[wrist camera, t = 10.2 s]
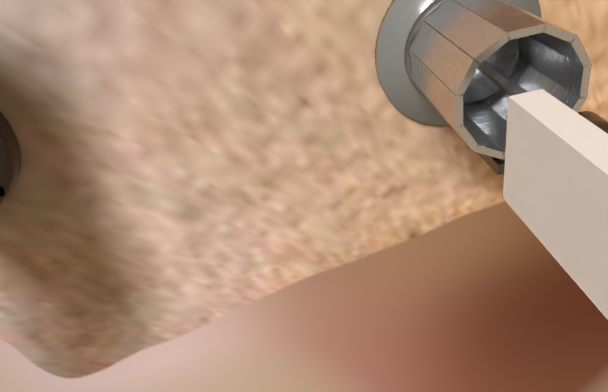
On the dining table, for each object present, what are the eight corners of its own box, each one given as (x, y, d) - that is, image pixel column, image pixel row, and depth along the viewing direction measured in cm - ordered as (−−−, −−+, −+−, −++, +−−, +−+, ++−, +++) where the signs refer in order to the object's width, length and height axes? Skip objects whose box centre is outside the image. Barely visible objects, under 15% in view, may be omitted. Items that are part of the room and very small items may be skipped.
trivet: (383, 137, 53) (385, 140, 52) (366, -24, 44) (368, -22, 43) (530, 102, 53) (534, 106, 53) (543, -64, 44) (548, -63, 44)
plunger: (430, 107, 48) (533, 226, 32) (426, 23, 43) (543, 113, 28) (512, 88, 48) (654, 197, 32) (517, 2, 44) (684, 80, 28)
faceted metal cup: (409, 129, 52) (454, 192, 42) (400, 2, 45) (451, 42, 35) (511, 106, 52) (579, 162, 42) (517, -25, 45) (602, 7, 35)
